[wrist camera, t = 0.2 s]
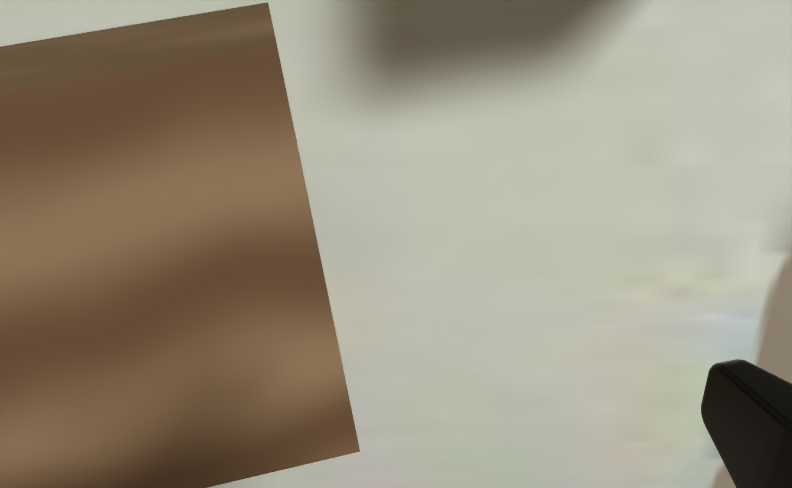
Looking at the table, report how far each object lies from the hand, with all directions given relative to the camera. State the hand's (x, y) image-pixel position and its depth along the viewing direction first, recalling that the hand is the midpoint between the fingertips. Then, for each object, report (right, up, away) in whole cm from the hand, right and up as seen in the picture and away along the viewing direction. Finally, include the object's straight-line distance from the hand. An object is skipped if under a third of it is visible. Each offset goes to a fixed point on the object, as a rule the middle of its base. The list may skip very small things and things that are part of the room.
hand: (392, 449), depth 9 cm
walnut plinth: (-10, +2, +14) cm, 17 cm away
